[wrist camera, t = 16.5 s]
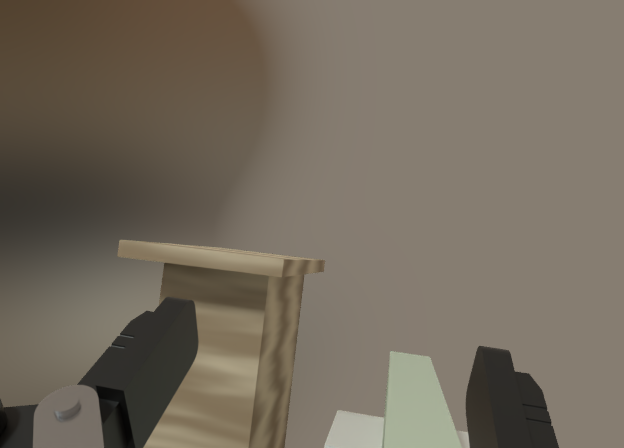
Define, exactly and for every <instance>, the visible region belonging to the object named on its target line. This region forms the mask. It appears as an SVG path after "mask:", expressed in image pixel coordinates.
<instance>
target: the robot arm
mask: <svg viewBox="0 0 624 448" xmlns="http://www.w3.org/2000/svg"><path fill="white" fill-rule="evenodd" d="M198 343H199V341H198V330H197V319H196V309H195V303H194V301H193V300H188V299H181V298H175V297H166V298H165V299H164V300H163V301H162V302H161V304H160V305H159V306H158V307H157V309H156V310H155V311H154V312H150V311H146V312H144V313H143V314H141V315H140V316H138V317H136V318H135V319H133V320H132V321H131V322H130V323H129V324H128V325H127V326H126V327H125V329H124V330H123V331H122V332H121V333H120V336H118V337H117V338H116V339H115V341H114V342H113V343H112V345H111V347H109V348H108V349H107V350H106V351H105V353H103V355H102V356H101V357H100V358H99V359H98V361H97V362H96V363H95V364H94V366H93V367H92V368H91V369H90V370H89V371H88V372H87V374H86V375H85V376H84V377H83V378H82V380H81V381H80V382H79V383H78V384H77V385H71V386H67V387H63V388H60V389H58V390H56V391H54V392H53V393H51V394H49V395H48V396H47V397H45V398H44V399H43V400H42V401H41V402H40V404H38V405H28V406H16V407H3V405H2V402H1V400H0V448H143V447H144V446H145V444H146V442H147V441H148V439H149V437H150V435H151V434H152V432H153V430H154V429H155V427H156V425H157V424H158V422H159V420H160V419H161V417H162V415H163V413H164V412H165V410H166V408H167V407H168V405H169V403H170V402H171V400H172V398H173V396H174V395H175V393H176V391H177V390H178V388H179V386H180V385H181V383H182V381H183V380H184V378H185V376H186V374H187V373H188V371H189V369H190V368H191V366H192V364H193V362H194V360H195V358H196V355H197V351H198ZM466 417H467V427H468V436H469V446H470V448H559V447H558V443H557V439H556V436H555V433H554V429H553V426H551V419H550V416H549V412H548V411H547V406H546V403H545V399H544V395H543V392H542V390H541V388H540V387H539V386H538V385H537V383H536V382H535V381H534V380H533V378H532V377H531V376H530V375H529V374H527V373H521V372H515V371H514V367H513V363H512V358H511V354H510V352H509V351H508V350H503V349H497V348H490V347H484V346H479V347H478V349H477V352H476V356H475V360H474V364H473V368H472V372H471V376H470V380H469V384H468V388H467V395H466Z"/></svg>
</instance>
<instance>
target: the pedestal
mask: <svg viewBox="0 0 624 448" xmlns="http://www.w3.org/2000/svg"><path fill="white" fill-rule="evenodd" d="M383 427H384V418H381V417H375V416H370V415H364V414H358V413H352V412H347V411H340V410H338V411H337V414H336V417H335V419H334V422H333V424H332V427H331V430H330V432H329V435H328V438H327V440H326V443H325V447H324V448H382V439H383ZM456 432H457V435H458V438H459V441H460V444H461V446H462V448H470V446H469V436H468V432H462V431H456Z"/></svg>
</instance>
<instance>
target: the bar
mask: <svg viewBox="0 0 624 448" xmlns="http://www.w3.org/2000/svg"><path fill="white" fill-rule="evenodd" d="M382 448H462V446H461V444H460V441H459V438H458V435H457V432H456V430H455V427H454V424H453V421H452V418H451V415H450V413H449V410H448V407H447V404H446V401H445V398H444V395H443V393H442V390H441V387H440V384H439V381H438V378H437V376H436V373H435V370H434V367H433V364H432V361H431V359H430V357H427V356H419V355H413V354H406V353H400V352H393V351H390V361H389V370H388V379H387V389H386V402H385V414H384V427H383V439H382Z"/></svg>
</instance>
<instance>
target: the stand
mask: <svg viewBox="0 0 624 448" xmlns="http://www.w3.org/2000/svg"><path fill="white" fill-rule="evenodd" d="M118 257H125V258H133V259H142V260H149V261H157V262H165V263H164V271H163V278H162V285H161V293H160V300H159V305H160V304H161V302H162V301H163V300H164V299H165V298H166V297H175V298H181V299H188V300H193V301H194V303H195V309H196V319H197V330H198V341H199V343H198V351H197V355H196V358H195V360H194V362H193V364H192V366H191V368H190V369H189V371H188V373H187V374H186V376H185V378H184V380H183V381H182V383H181V385H180V386H179V388H178V390H177V391H176V393H175V395H174V396H173V398H172V400H171V402H170V403H169V405H168V407H167V408H166V410H165V412H164V413H163V415H162V417H161V419H160V420H159V422H158V424H157V425H156V427H155V429H154V430H153V432H152V434H151V435H150V437H149V439H148V441H147V442H146V444H145V446H144V447H143V448H284V446H285V437H286V429H287V420H288V411H289V403H290V394H291V386H292V377H293V367H294V359H295V351H296V343H297V334H298V325H299V317H300V308H301V299H302V291H303V282H304V274H309V273H317V272H323V271H324V264H325V260H318V259H310V258H302V257H293V256H285V255H275V254H268V253H260V252H251V251H242V250H234V249H226V248H216V247H205V246H192V245H180V244H179V245H178V244H167V243H153V242H143V241H130V240H120V242H119V249H118Z"/></svg>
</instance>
